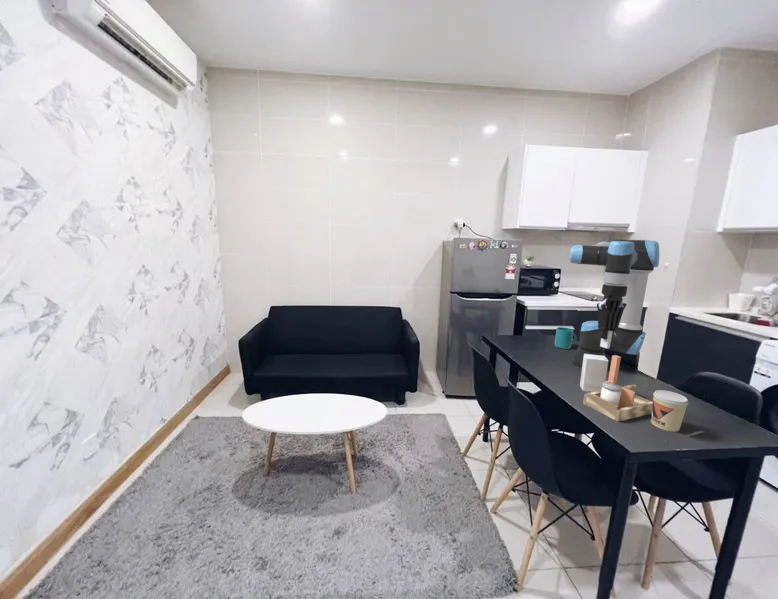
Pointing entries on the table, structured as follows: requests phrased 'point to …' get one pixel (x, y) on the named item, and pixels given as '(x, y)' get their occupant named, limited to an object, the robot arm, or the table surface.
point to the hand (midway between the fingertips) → (604, 347)
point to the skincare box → (593, 372)
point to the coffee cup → (668, 410)
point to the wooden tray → (612, 411)
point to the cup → (564, 338)
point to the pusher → (626, 394)
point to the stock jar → (611, 392)
